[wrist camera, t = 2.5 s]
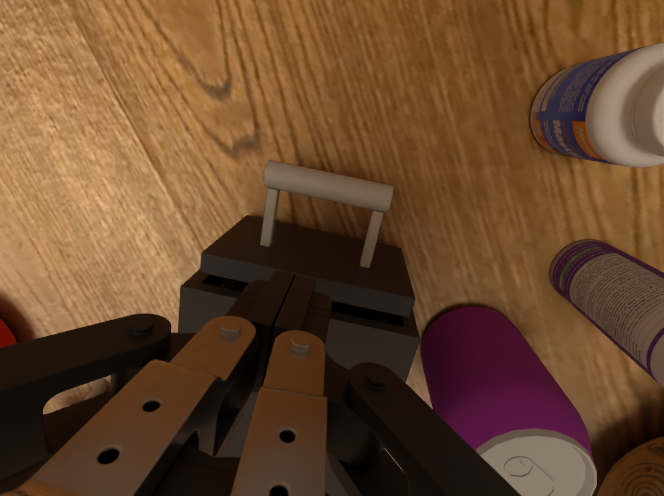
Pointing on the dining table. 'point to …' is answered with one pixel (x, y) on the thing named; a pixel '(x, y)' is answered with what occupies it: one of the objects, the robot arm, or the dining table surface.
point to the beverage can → (506, 403)
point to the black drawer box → (341, 345)
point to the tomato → (6, 335)
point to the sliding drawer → (318, 247)
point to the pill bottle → (605, 109)
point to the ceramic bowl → (637, 472)
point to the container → (616, 298)
